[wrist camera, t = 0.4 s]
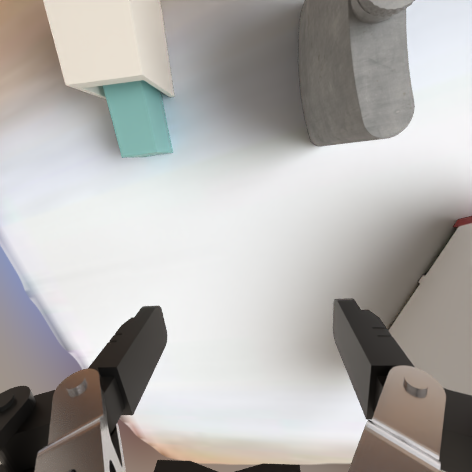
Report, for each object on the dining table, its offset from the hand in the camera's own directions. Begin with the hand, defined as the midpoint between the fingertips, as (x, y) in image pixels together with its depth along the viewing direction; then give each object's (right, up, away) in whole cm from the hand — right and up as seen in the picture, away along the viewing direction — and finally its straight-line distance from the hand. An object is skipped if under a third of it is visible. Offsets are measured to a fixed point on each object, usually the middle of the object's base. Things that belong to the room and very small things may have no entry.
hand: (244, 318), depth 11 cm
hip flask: (+9, +23, +19) cm, 32 cm away
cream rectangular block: (-13, +27, +20) cm, 36 cm away
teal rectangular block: (-12, +22, +22) cm, 33 cm away
